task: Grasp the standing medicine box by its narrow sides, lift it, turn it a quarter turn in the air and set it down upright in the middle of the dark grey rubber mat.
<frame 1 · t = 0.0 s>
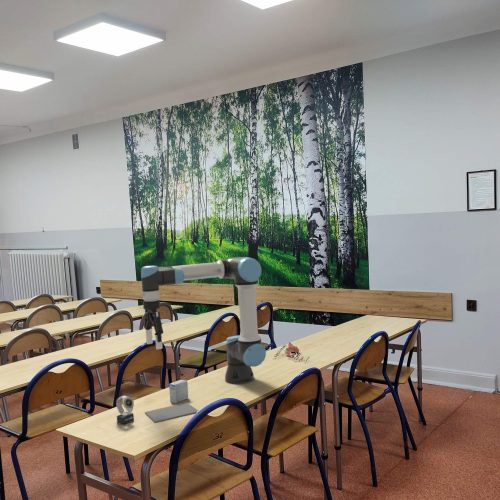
hand: (154, 346, 240), 28 cm above the table, tool pointing down, fingers open, 13 cm apart
watch: (125, 422, 224), on the table
medicine box: (179, 400, 249), on the table
mat: (171, 412, 232), on the table
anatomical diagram: (293, 359, 315), on the table
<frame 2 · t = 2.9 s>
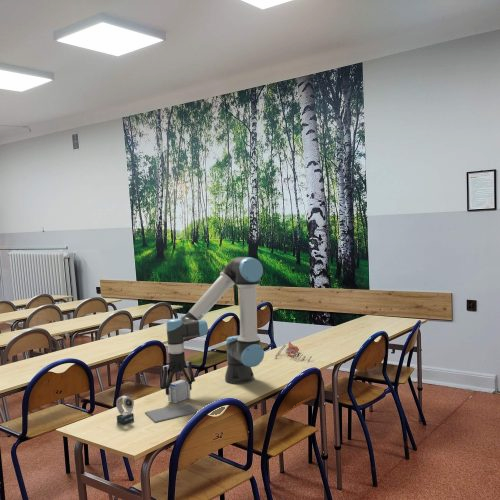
hand: (179, 399, 249), 0 cm above the table, tool pointing down, fingers closed on medicine box, 9 cm apart
medicine box: (179, 400, 249), on the table, touching gripper
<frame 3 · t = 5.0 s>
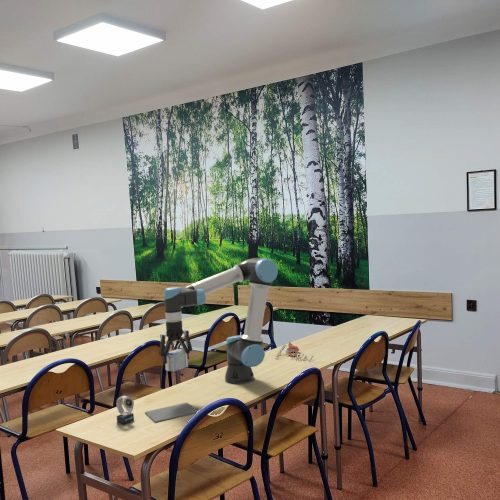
hand: (176, 368, 247), 15 cm above the table, tool pointing down, fingers closed on medicine box, 9 cm apart
medicine box: (176, 369, 247), point 15 cm above the table, touching gripper
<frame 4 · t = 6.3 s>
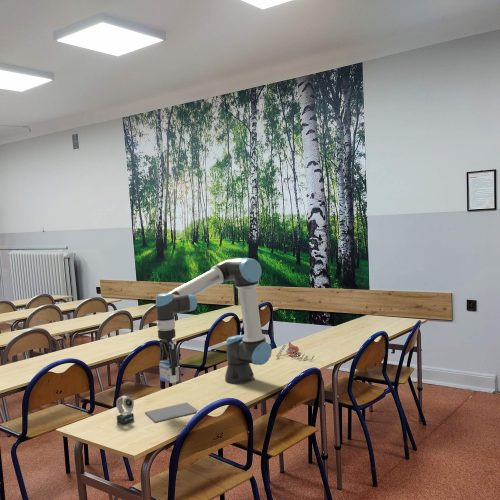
hand: (169, 379, 232), 15 cm above the table, tool pointing down, fingers closed on medicine box, 9 cm apart
medicine box: (169, 381, 232), point 14 cm above the table, touching gripper
when the fingers open (2 cm above the table, at t = 8.9 s): medicine box drops 1 cm, resting on mat.
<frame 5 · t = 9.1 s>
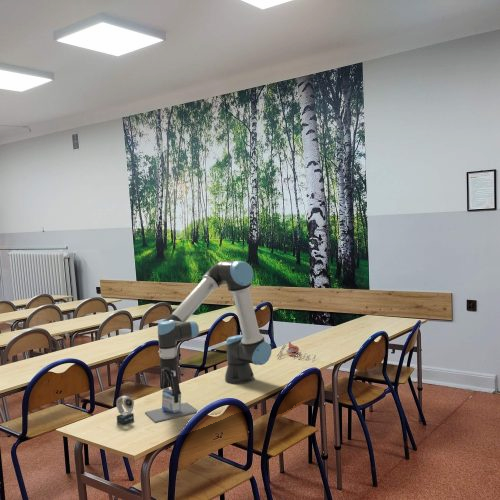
hand: (171, 406, 232), 3 cm above the table, tool pointing down, fingers open, 11 cm apart
medicine box: (171, 411, 233), point 1 cm above the table, touching mat
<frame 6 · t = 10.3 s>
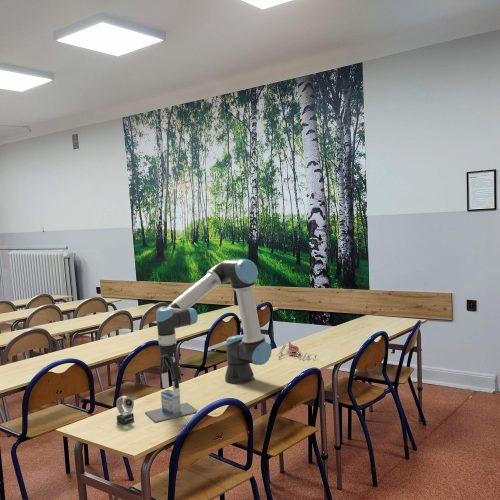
hand: (171, 391, 232), 10 cm above the table, tool pointing down, fingers open, 13 cm apart
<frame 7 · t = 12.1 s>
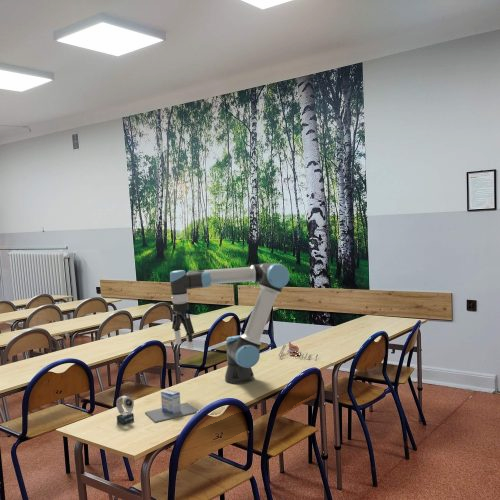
hand: (184, 346, 254), 24 cm above the table, tool pointing down, fingers open, 13 cm apart
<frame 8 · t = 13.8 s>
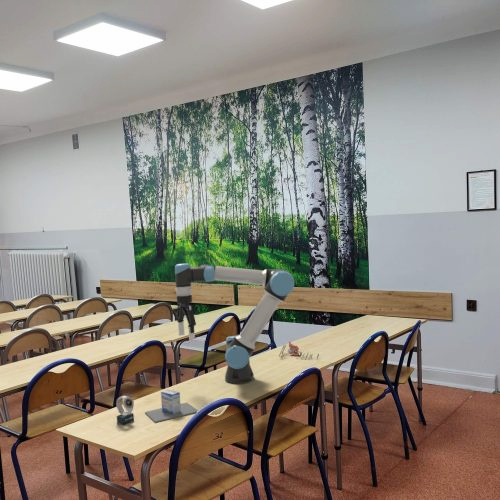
hand: (186, 337, 262), 27 cm above the table, tool pointing down, fingers open, 13 cm apart
at the end: medicine box inside the target area on the mat (0.5 cm from its centre), point 0.4 cm above the mat's base; medicine box tilted 0°; the gripper is holding nothing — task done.
